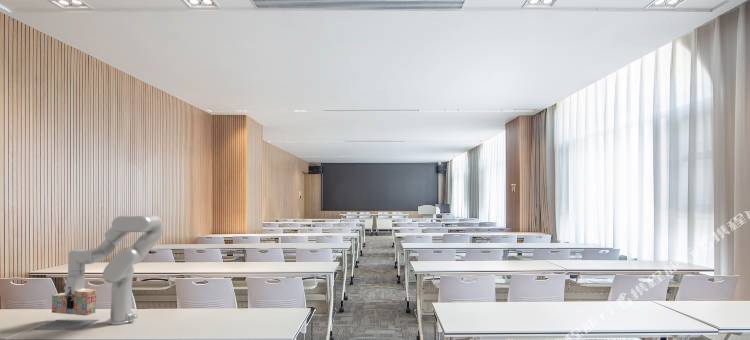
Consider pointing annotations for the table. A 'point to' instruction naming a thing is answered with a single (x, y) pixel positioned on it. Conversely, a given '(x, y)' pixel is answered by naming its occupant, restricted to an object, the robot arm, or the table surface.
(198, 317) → the table surface
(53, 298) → the stack of blocks
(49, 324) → the mat
